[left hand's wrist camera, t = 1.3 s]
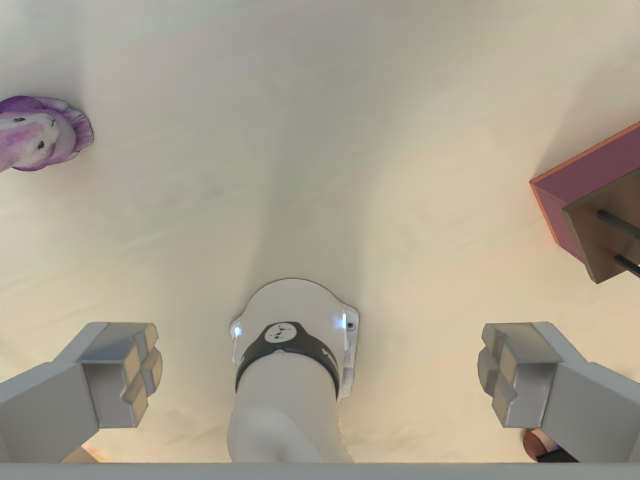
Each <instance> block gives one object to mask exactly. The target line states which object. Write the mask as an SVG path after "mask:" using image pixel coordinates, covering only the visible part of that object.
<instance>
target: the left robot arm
mask: <svg viewBox="0 0 640 480" xmlns="http://www.w3.org/2000/svg"><path fill="white" fill-rule="evenodd" d="M348 323H352V325H348ZM358 326H359V313H358V311H357V310H356V309H354V308H352V307H350V306H348V305H345V304H343V303H341V302H340V301H338V300H337V299H336V298H335V297H334V296H333V295H332V294H331V293H330V292H329V291H328V290H326V289H325V288H323V287H322V286H320V285H318V284H316V283H313V282H310V281H307V280H302V279H284V280H279V281H276V282H273V283H270V284H268V285H266V286H264V287H263V288H261V289H260V290H259V291H258V292H256V293H255V294H254V296H253V297H252V298H251V299H250V301H249V303H248V305H247V307H246V309H245V311H244V313H243V314H242V315H241V316H240V317H238V318H237V319H236V320H235V321H234V322H233V323H232V324H231V325H230V329H229V334H230V336H231V338H232V340H233V342H234V344H235V345H234V350H233V356H232V361H233V363H235V364H236V367H237V369H238V370H237V374H236V385H235V390H236V397H235V401H234V405H233V409H232V413H231V417H230V421H229V425H228V429H227V448H228V452H229V455H230V458H231V460H232V462H233V463H60V462H61V461H62V460H63V459H65V458H66V457H67V456H68V455H70V454H71V453H72V452H73V451H75V450H76V449H77V448H78V447H80V446H81V445H82V444H83V443H84V442H86V441H87V440H88V439H89V438H91V437H92V436H93V435H94V434H96V433H97V432H98V431H99V429H102V428H137V426H138V425H139V423H140V421H141V419H142V417H143V415H144V413H145V411H146V409H147V407H148V401H147V397H149V396H150V395H151V394H153V393H154V392H156V390H157V387H158V385H159V383H160V379H161V375H162V356H161V353H160V352H159V351H158V350H157V349H156V348H155V347H154V345H155V343H156V341H157V339H158V334H157V329H156V326H155V325H154V324H153V323H133V322H92V323H88V324H87V325H86V326H85V327H84V328H83V329H82V330H81V331H80V332H79V333H78V334H77V336H76V337H75V338H74V339H73V340H72V341H71V342H70V343H69V344H68V345H67V346H66V347H65V348H64V350H63V351H62V352H61V353H60V354H59V355H58V356H57V357H56V358H55V359H54V360H53V361H52V362H45V363H42V364H40V365H38V366H36V367H34V368H32V369H30V370H28V371H26V372H24V373H21V374H19V375H17V376H15V377H13V378H11V379H9V380H7V381H5V382H2V383H0V480H640V384H639V383H637V382H635V381H633V380H631V379H629V378H627V377H625V376H623V375H621V374H618V373H616V372H614V371H612V370H610V369H608V368H606V367H604V366H602V365H600V364H598V363H595V362H588V361H587V360H586V359H585V358H584V357H583V356H582V355H581V354H580V353H579V352H578V351H577V349H576V348H575V347H574V346H573V345H572V344H571V343H570V342H569V341H568V340H567V339H566V338H565V337H564V335H563V334H562V333H561V332H560V331H559V330H558V329H557V328H556V327H555V326H554V325H553V324H552V323H549V322H527V323H489V324H486V325H485V327H484V329H483V333H482V339H483V341H484V343H485V345H486V347H485V348H484V349H483V350H482V351H481V352H480V353H479V357H478V376H479V379H480V383H481V385H482V387H483V390H484V392H486V393H487V394H489V395H490V396H491V397H493V401H492V407H493V409H494V411H495V413H496V415H497V417H498V419H499V421H500V423H501V424H502V426H503V428H538V429H541V431H542V432H543V433H545V434H546V435H547V436H548V437H550V438H551V439H552V440H553V441H554V442H556V443H557V444H558V445H559V446H561V447H562V448H563V449H564V450H566V451H567V452H568V453H569V454H570V455H572V456H573V457H574V458H575V459H577V460H578V461H579V462H580V463H356V462H355V461H354V460H353V459H352V457H351V456H350V454H349V453H348V451H347V449H346V448H345V446H344V444H343V441H342V438H341V434H340V429H339V423H338V416H337V409H338V407H339V406H340V400H342V399H344V398H345V397H347V396H348V395H350V393H351V389H352V384H354V363H355V353H356V344H357V335H358Z"/></svg>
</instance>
